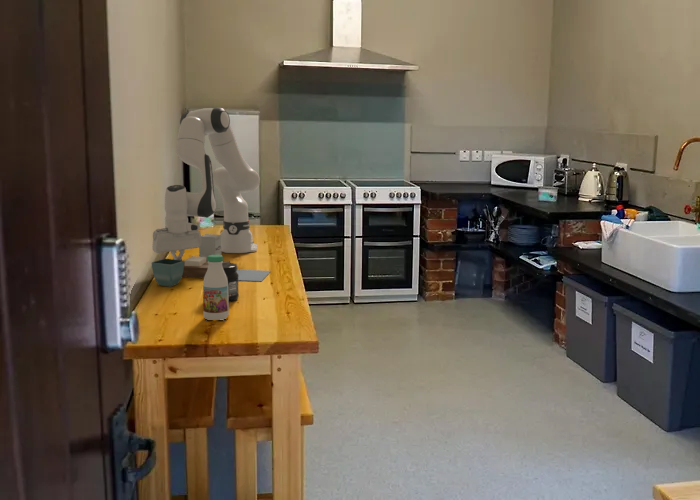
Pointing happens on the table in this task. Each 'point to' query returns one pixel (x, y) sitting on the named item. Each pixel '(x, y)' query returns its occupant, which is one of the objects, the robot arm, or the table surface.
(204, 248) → the supplement box
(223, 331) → the table surface
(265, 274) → the mat
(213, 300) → the milk bottle
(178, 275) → the flower pot
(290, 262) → the table surface
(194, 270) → the board
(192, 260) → the beige rectangular block
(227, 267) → the supplement container
